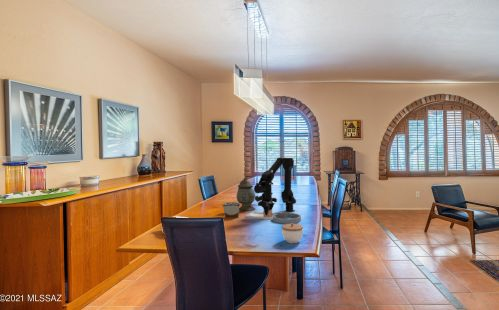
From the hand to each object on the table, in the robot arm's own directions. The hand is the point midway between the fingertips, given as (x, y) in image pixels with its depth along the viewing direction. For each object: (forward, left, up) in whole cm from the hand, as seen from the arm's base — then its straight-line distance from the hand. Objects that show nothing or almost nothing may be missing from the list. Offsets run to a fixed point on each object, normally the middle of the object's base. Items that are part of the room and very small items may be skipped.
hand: (267, 214), depth 208 cm
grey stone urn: (-15, -25, -2) cm, 29 cm away
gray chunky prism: (+3, +12, -2) cm, 12 cm away
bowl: (+3, +15, -2) cm, 15 cm away
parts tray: (0, -4, -2) cm, 5 cm away
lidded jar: (+42, +33, -2) cm, 53 cm away
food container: (+9, -23, -2) cm, 25 cm away
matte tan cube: (0, 0, -2) cm, 2 cm away
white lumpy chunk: (+52, -28, -2) cm, 59 cm away
